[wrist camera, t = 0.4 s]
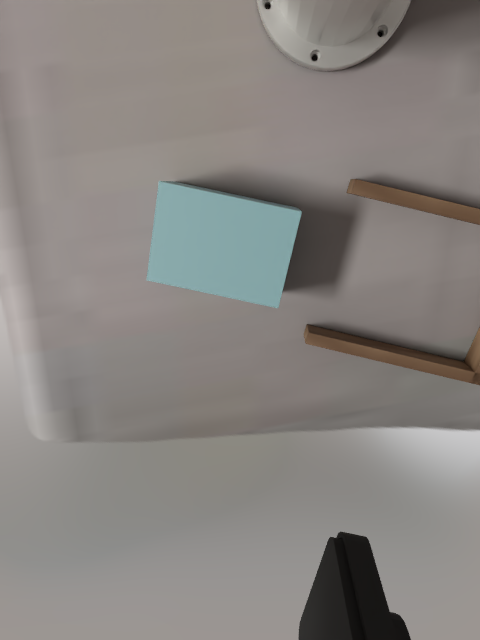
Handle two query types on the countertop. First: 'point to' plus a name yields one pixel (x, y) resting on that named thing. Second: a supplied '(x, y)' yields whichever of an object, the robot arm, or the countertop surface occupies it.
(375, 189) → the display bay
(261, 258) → the carton
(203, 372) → the countertop surface
